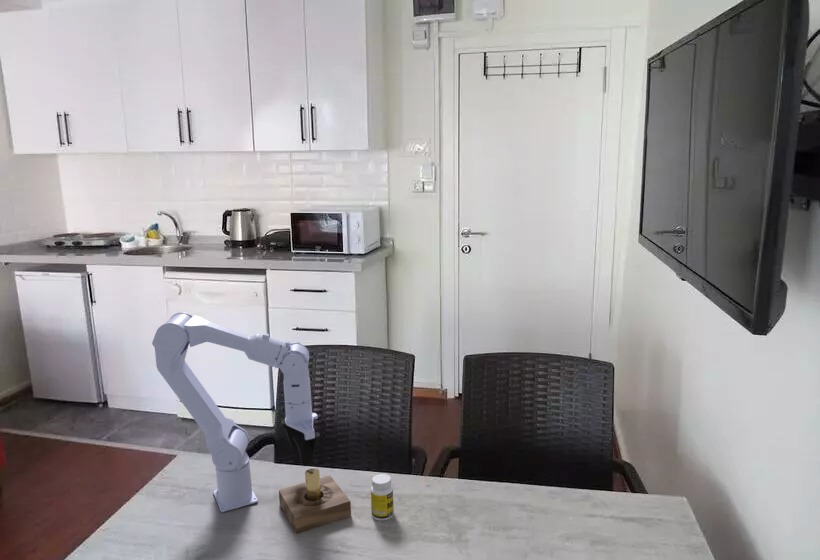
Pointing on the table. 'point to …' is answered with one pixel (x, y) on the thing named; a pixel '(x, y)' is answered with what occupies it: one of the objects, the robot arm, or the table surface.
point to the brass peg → (312, 484)
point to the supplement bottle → (382, 497)
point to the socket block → (314, 505)
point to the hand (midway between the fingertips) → (301, 456)
